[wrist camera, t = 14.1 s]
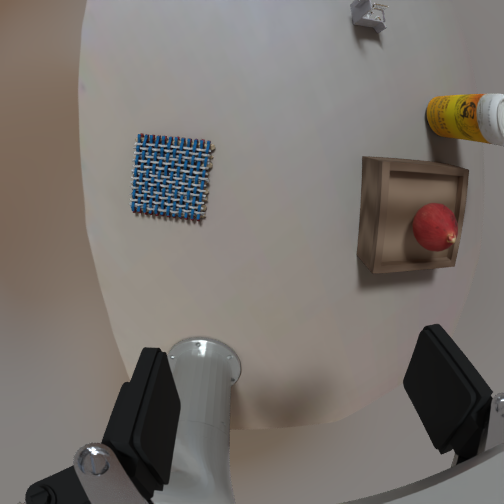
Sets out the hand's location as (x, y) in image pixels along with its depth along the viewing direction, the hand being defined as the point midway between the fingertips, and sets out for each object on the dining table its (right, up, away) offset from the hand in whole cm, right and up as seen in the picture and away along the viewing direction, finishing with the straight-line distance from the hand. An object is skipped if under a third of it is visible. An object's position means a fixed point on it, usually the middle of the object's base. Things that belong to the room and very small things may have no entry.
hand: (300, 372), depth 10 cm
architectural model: (+15, +40, +18) cm, 47 cm away
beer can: (+25, +24, +24) cm, 42 cm away
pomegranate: (+20, +9, +25) cm, 33 cm away
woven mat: (-12, +14, +27) cm, 33 cm away
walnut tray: (+20, +11, +29) cm, 37 cm away
